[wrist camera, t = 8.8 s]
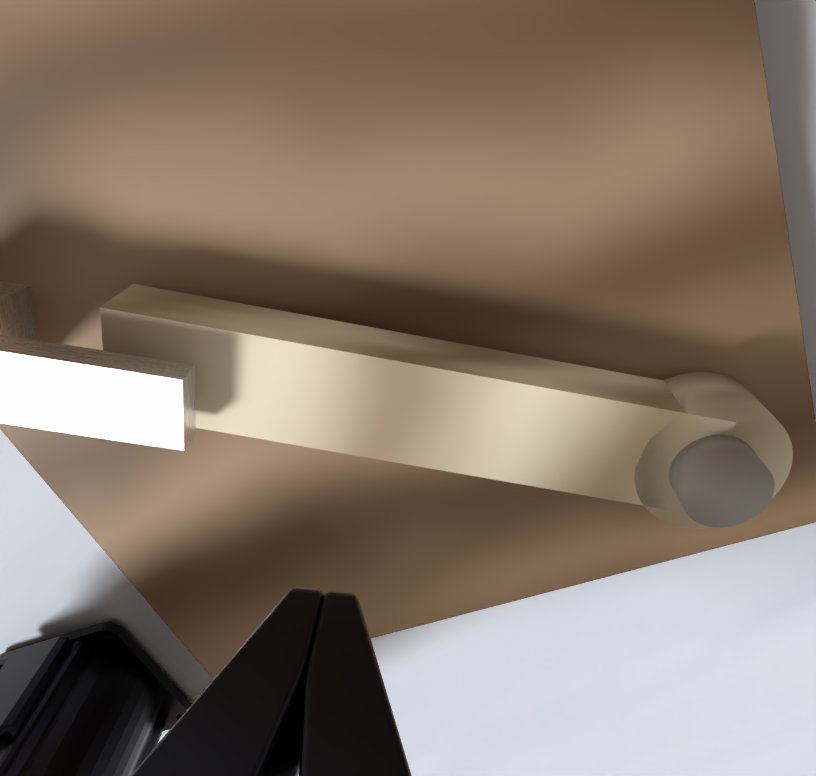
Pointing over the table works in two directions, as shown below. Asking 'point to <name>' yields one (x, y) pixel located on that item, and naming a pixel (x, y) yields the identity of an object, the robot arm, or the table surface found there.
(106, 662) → the robot arm
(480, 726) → the table surface
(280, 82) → the board
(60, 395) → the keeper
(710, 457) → the link
